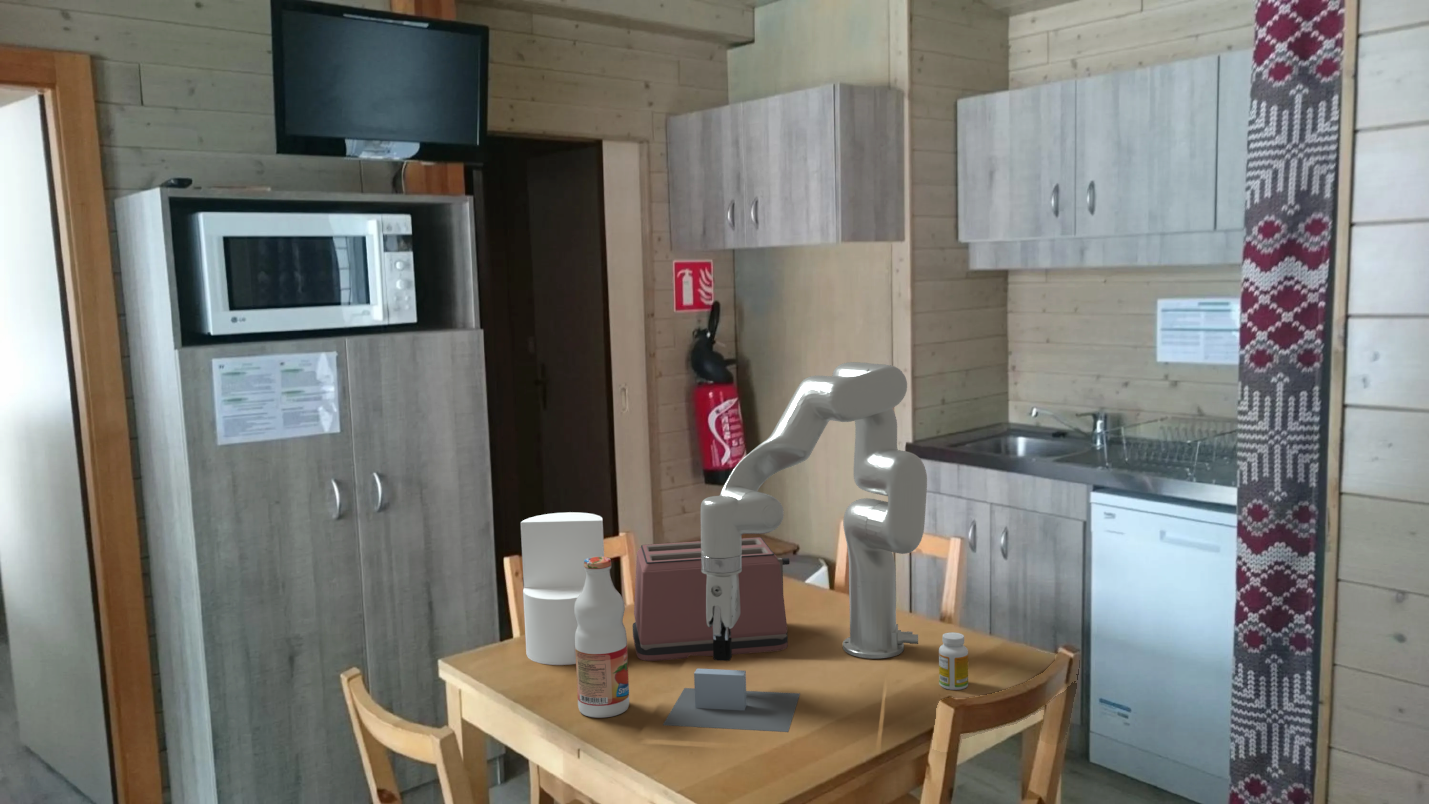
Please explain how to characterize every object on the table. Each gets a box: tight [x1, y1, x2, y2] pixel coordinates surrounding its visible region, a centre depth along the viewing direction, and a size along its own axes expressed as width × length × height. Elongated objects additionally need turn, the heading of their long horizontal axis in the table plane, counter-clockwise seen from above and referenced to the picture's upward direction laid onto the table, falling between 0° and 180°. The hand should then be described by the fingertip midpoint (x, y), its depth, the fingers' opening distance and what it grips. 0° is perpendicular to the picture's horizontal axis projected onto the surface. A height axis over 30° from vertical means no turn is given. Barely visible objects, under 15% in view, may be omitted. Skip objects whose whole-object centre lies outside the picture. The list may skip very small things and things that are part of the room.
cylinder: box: [520, 511, 605, 666], centre depth 228 cm, size 17×17×28 cm
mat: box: [662, 687, 801, 733], centre depth 194 cm, size 22×17×1 cm
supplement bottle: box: [938, 632, 969, 691], centre depth 203 cm, size 5×5×10 cm
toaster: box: [632, 536, 791, 662], centre depth 231 cm, size 19×34×20 cm, turn 98°
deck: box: [693, 668, 747, 710], centre depth 195 cm, size 9×2×6 cm, turn 79°
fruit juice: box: [574, 556, 630, 719], centre depth 196 cm, size 9×9×28 cm
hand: (722, 658), depth 202 cm, fingers closed
